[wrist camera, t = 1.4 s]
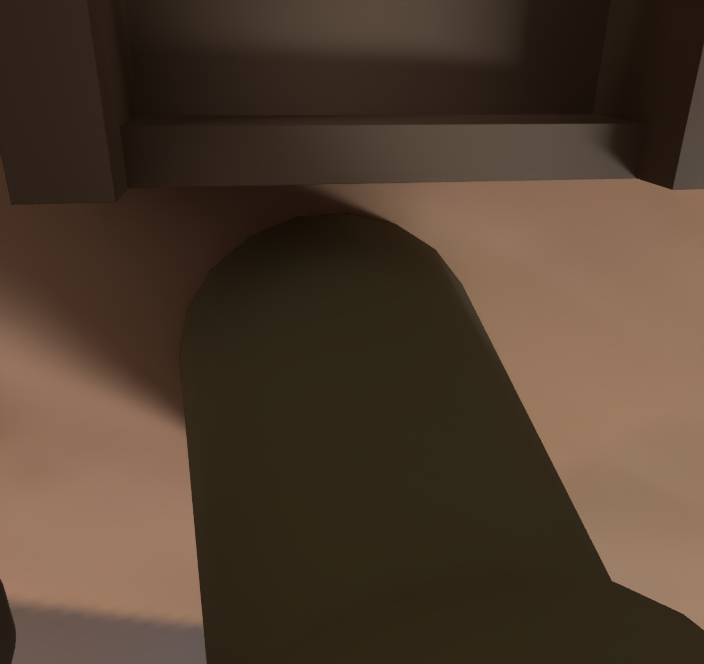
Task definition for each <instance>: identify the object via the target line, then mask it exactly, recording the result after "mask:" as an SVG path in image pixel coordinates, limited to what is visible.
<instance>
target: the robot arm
mask: <svg viewBox="0 0 704 664" xmlns="http://www.w3.org/2000/svg"><path fill="white" fill-rule="evenodd" d="M15 643H16V629H15V624H14V621H13V617H12V614H11V610H10V607H9V603H8V600H7V596H6V593H5V589H4V586H3V583H2V581H1V580H0V664H11V663H12V659H13V655H14V650H15Z"/></svg>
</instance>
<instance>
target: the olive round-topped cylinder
mask: <svg viewBox="0 0 704 664" xmlns="http://www.w3.org/2000/svg"><path fill="white" fill-rule="evenodd" d="M179 356H180V368H181V379H182V390H183V401H184V413H185V424H186V435H187V446H188V458H189V469H190V480H191V491H192V503H193V514H194V525H195V537H196V548H197V559H198V570H199V582H200V593H201V604H202V615H203V627H204V637H205V649H206V660H207V664H704V630H703V629H701V628H700V627H699V626H698V625H696V624H695V623H694V622H693V621H691V620H690V619H689V618H687V617H686V616H685V615H684V614H682V613H680V612H677V611H675V610H673V609H671V608H669V607H667V606H665V605H662V604H660V603H658V602H656V601H654V600H652V599H650V598H647V597H645V596H643V595H641V594H639V593H637V592H635V591H632V590H630V589H628V588H626V587H624V586H622V585H620V584H617V583H615V582H612V581H611V579H610V577H609V575H608V573H607V571H606V569H605V567H604V565H603V563H602V561H601V559H600V557H599V555H598V553H597V551H596V549H595V547H594V545H593V543H592V541H591V539H590V537H589V535H588V533H587V531H586V529H585V527H584V525H583V523H582V521H581V519H580V517H579V515H578V513H577V511H576V509H575V507H574V505H573V503H572V501H571V499H570V497H569V495H568V493H567V491H566V489H565V487H564V485H563V483H562V481H561V479H560V477H559V476H558V474H557V472H556V470H555V468H554V466H553V464H552V462H551V460H550V458H549V456H548V454H547V452H546V450H545V448H544V446H543V444H542V442H541V440H540V438H539V436H538V434H537V432H536V430H535V428H534V426H533V424H532V422H531V420H530V418H529V416H528V414H527V412H526V410H525V408H524V406H523V404H522V402H521V400H520V398H519V396H518V394H517V392H516V390H515V388H514V386H513V384H512V382H511V380H510V378H509V376H508V374H507V372H506V370H505V368H504V367H503V365H502V363H501V361H500V359H499V357H498V355H497V353H496V351H495V349H494V347H493V345H492V343H491V341H490V339H489V337H488V335H487V333H486V331H485V329H484V327H483V325H482V323H481V321H480V319H479V317H478V315H477V313H476V311H475V309H474V307H473V305H472V303H471V301H470V299H469V297H468V295H467V293H466V291H465V289H464V287H463V285H462V284H461V282H460V281H459V280H458V278H457V277H456V276H455V275H454V273H453V272H452V271H451V269H450V268H449V267H448V265H447V264H446V263H445V261H444V260H443V259H442V258H441V256H440V255H439V254H438V252H437V251H436V250H435V249H434V248H432V247H430V246H429V245H427V244H426V243H424V242H423V241H421V240H419V239H418V238H416V237H415V236H413V235H412V234H410V233H409V232H407V231H405V230H404V229H402V228H401V227H399V226H398V225H395V224H391V223H387V222H383V221H379V220H375V219H371V218H366V217H362V216H358V215H354V214H350V213H346V214H333V215H320V216H308V217H297V218H295V219H293V220H290V221H288V222H285V223H283V224H280V225H278V226H276V227H273V228H271V229H268V230H266V231H263V232H261V233H258V234H256V235H254V236H251V237H250V238H248V239H247V240H246V241H245V242H244V243H242V244H241V245H240V246H239V247H238V248H237V249H235V250H234V251H233V252H232V253H231V254H230V255H228V256H227V257H226V258H225V259H224V260H222V261H221V262H220V263H219V264H218V265H217V266H215V267H214V268H213V269H212V270H211V272H210V274H209V275H208V277H207V279H206V280H205V282H204V284H203V285H202V287H201V289H200V291H199V292H198V294H197V296H196V297H195V299H194V301H193V302H192V304H191V306H190V307H189V309H188V312H187V317H186V322H185V327H184V333H183V338H182V343H181V348H180V354H179Z"/></svg>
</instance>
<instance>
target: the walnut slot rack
mask: <svg viewBox="0 0 704 664" xmlns="http://www.w3.org/2000/svg"><path fill="white" fill-rule="evenodd" d="M0 152H1V157H2V161H3V166H4V171H5V176H6V181H7V185H8V190H9V195H10V200H11V204H12V205H15V204H60V203H104V202H116V201H117V200H118V199H119V198H120V197H121V195H122V194H123V193H124V192H125V191H126V190H127V189H128V188H161V187H212V186H264V185H315V184H367V183H418V182H470V181H521V180H573V179H624V178H637V179H640V180H643V181H647V182H650V183H653V184H656V185H659V186H662V187H666V188H669V189H672V190H682V189H704V0H0Z"/></svg>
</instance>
